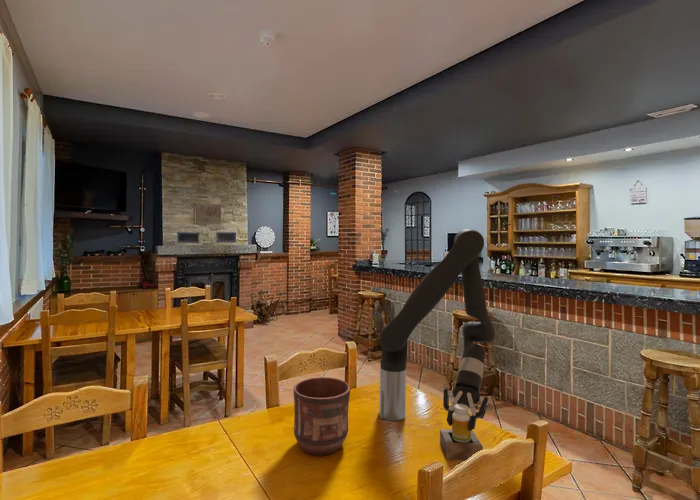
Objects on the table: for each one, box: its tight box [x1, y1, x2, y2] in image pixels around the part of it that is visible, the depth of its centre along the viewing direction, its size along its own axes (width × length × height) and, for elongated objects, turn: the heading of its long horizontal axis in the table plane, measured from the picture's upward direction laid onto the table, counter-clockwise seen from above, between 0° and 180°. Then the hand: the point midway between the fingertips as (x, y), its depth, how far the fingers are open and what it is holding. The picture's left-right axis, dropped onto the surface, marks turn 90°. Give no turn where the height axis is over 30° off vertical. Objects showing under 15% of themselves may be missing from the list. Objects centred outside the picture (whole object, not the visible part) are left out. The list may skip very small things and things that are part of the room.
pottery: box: [293, 376, 351, 456], centre depth 119 cm, size 18×18×18 cm
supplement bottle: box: [451, 404, 471, 443], centre depth 117 cm, size 5×5×10 cm
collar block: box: [439, 428, 484, 461], centre depth 117 cm, size 10×10×4 cm
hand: (459, 427), depth 116 cm, fingers closed on supplement bottle, 5 cm apart
